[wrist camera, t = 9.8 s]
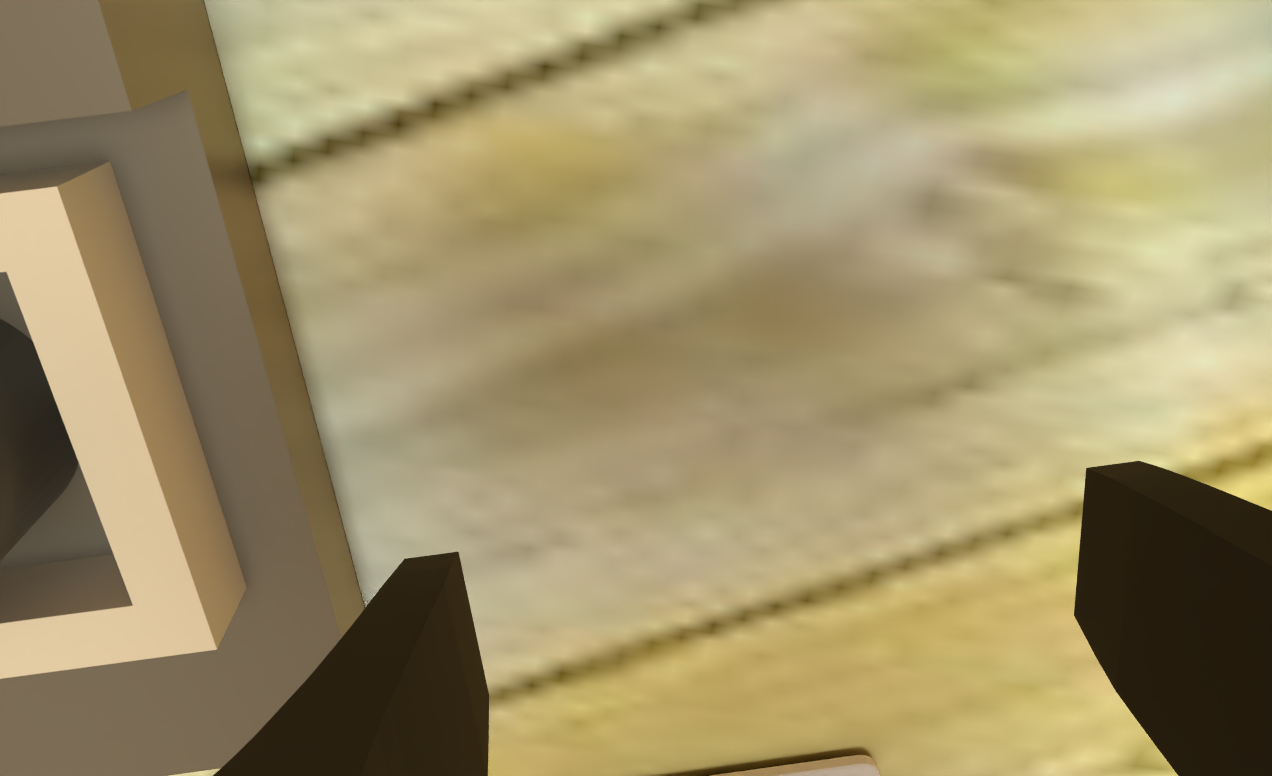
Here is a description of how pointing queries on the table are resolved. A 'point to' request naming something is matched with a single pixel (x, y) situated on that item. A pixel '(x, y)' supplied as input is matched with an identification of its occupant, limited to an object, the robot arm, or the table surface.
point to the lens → (28, 439)
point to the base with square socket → (153, 409)
